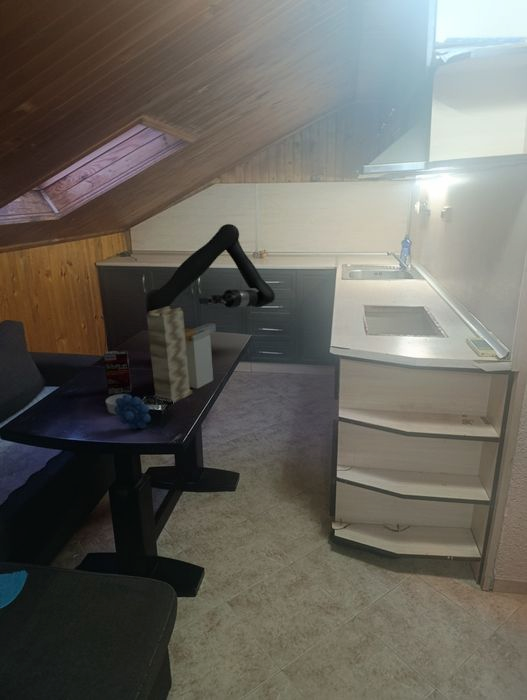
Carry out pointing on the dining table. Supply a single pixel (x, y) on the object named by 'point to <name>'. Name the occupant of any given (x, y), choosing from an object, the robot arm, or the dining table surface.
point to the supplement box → (117, 371)
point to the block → (199, 330)
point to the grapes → (132, 411)
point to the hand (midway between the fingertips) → (206, 299)
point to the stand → (168, 353)
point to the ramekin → (113, 402)
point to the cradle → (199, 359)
